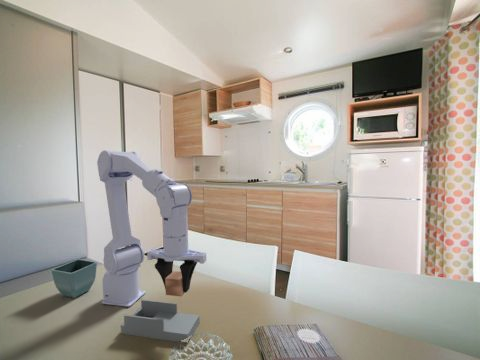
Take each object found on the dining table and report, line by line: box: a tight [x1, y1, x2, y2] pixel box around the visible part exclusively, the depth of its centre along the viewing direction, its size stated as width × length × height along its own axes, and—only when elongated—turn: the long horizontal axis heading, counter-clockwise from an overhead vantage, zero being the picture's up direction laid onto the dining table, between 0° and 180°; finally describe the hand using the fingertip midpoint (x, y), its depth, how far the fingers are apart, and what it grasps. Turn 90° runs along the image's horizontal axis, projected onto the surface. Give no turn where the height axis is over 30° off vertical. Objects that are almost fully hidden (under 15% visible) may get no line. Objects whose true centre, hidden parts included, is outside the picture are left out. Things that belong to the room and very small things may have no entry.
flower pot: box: [51, 259, 98, 299], centre depth 76 cm, size 9×9×9 cm
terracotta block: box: [164, 270, 185, 298], centre depth 58 cm, size 4×4×4 cm
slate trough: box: [120, 299, 201, 343], centre depth 58 cm, size 17×7×4 cm, turn 78°
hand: (177, 289), depth 58 cm, fingers closed on terracotta block, 4 cm apart
